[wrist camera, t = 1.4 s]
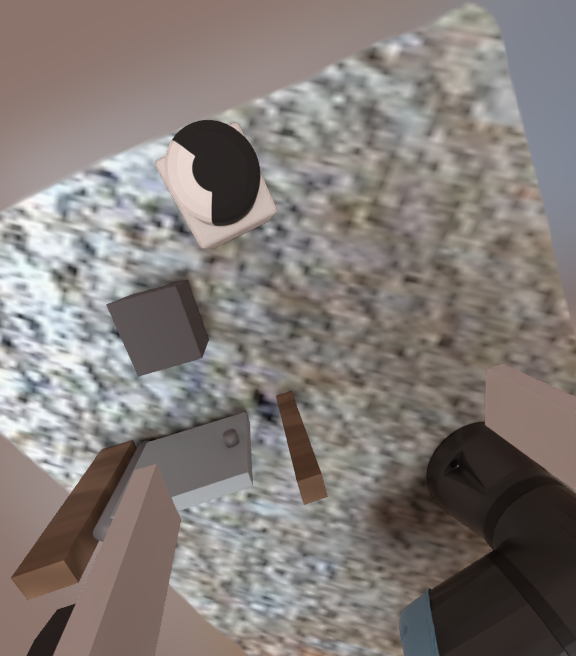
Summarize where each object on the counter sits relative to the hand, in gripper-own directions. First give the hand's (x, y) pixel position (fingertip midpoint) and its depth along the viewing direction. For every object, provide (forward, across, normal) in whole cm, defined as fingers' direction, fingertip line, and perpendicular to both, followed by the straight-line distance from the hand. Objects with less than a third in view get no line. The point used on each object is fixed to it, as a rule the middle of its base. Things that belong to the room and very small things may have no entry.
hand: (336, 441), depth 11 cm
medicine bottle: (+24, +2, -12) cm, 27 cm away
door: (+22, +12, +12) cm, 28 cm away
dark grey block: (+23, +11, -2) cm, 26 cm away
